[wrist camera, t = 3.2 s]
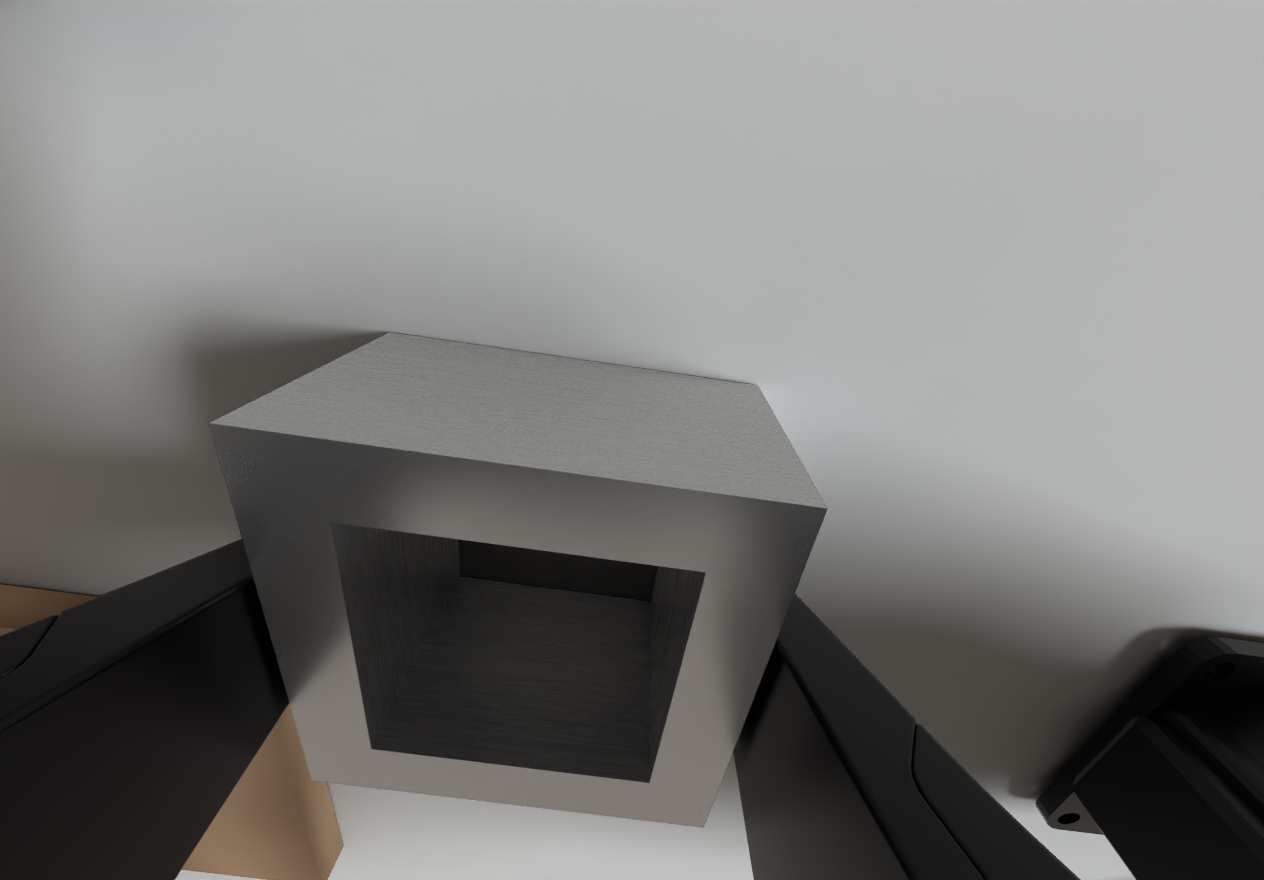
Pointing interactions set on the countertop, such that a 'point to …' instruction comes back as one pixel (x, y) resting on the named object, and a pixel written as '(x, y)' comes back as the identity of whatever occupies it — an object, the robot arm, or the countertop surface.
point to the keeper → (238, 787)
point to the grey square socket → (512, 613)
